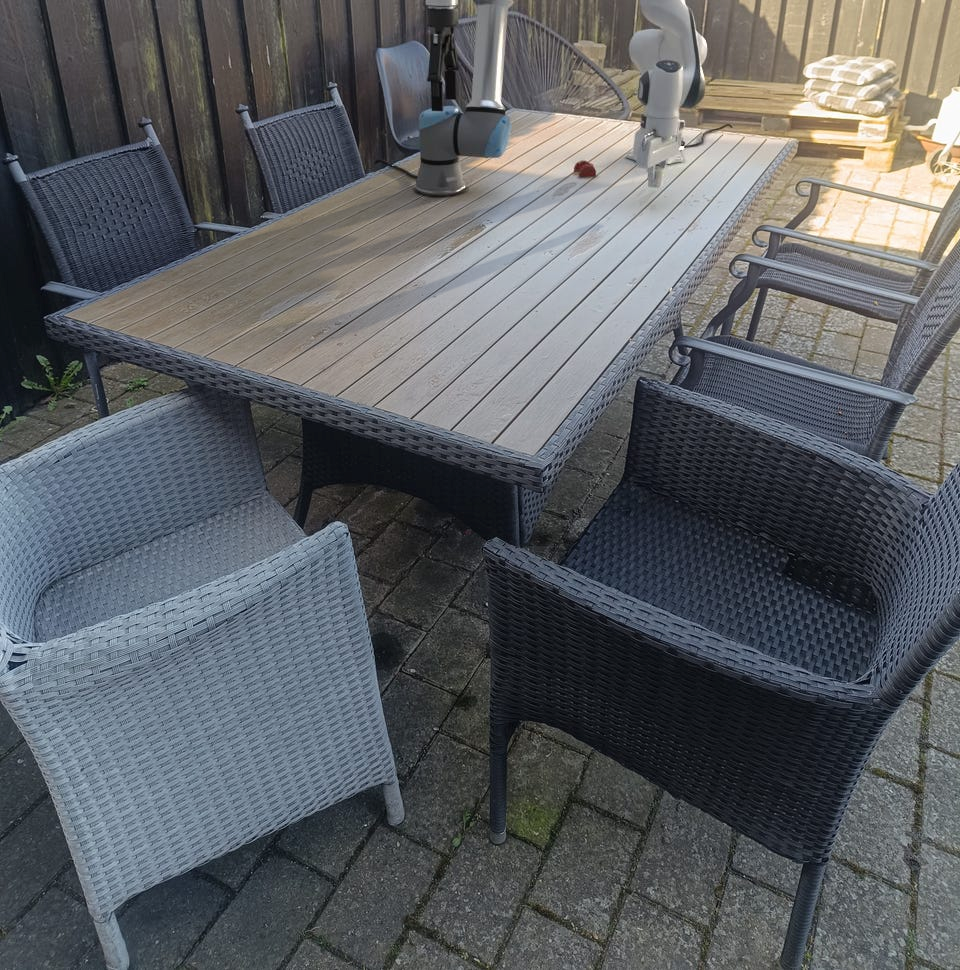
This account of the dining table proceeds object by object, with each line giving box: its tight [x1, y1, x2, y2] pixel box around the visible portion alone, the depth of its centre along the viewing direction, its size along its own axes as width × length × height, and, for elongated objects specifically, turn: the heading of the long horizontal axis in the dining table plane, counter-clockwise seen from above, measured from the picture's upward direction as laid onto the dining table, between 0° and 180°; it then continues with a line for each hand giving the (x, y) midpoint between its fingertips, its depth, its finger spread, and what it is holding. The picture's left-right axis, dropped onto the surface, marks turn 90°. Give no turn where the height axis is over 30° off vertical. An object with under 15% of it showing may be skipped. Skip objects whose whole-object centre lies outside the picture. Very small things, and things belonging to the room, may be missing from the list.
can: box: [647, 166, 665, 189], centre depth 243 cm, size 4×4×5 cm
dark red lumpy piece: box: [573, 160, 597, 178], centre depth 270 cm, size 6×4×8 cm
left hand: (444, 105), depth 208 cm, fingers open, 13 cm apart
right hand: (655, 177), depth 243 cm, fingers closed on can, 4 cm apart
